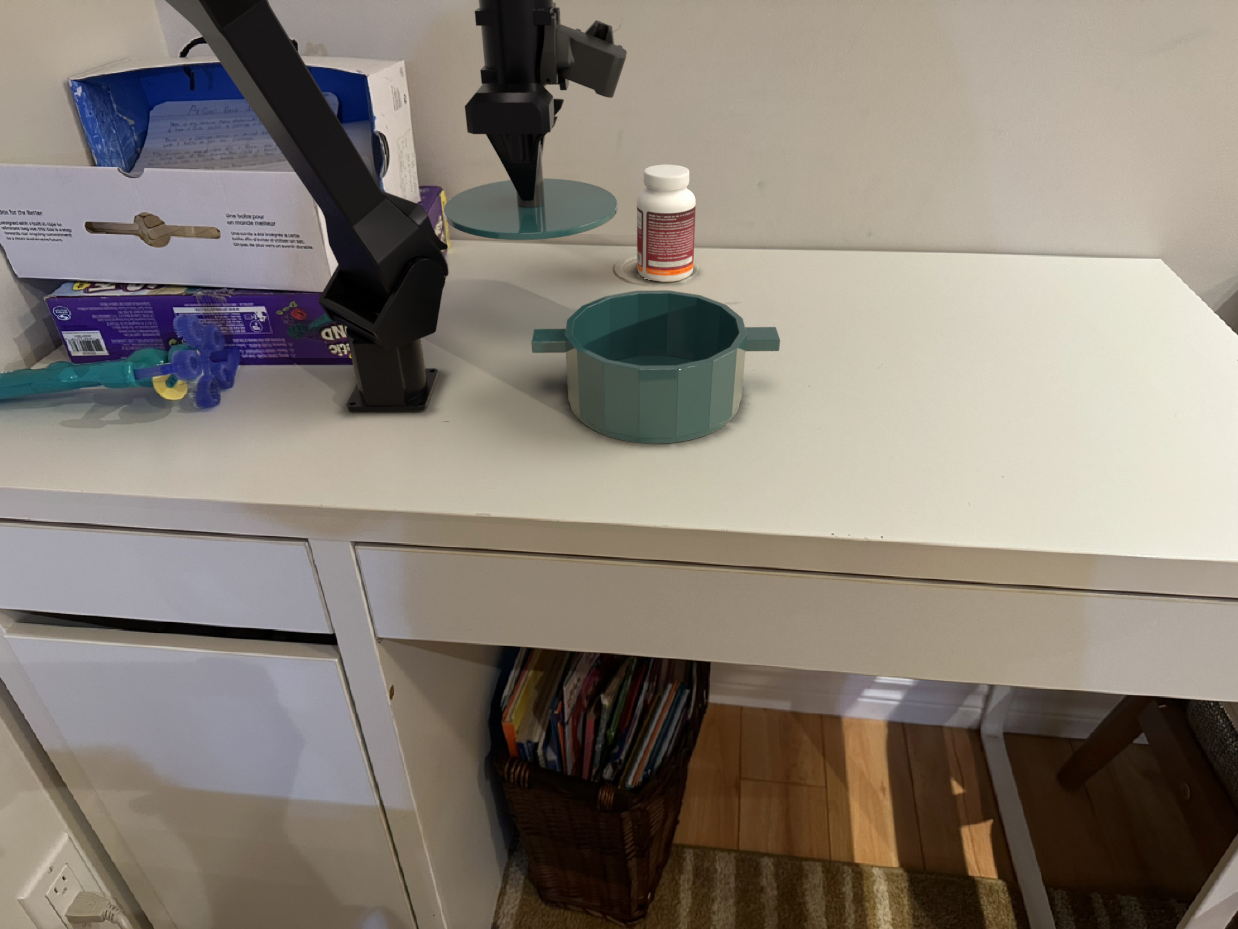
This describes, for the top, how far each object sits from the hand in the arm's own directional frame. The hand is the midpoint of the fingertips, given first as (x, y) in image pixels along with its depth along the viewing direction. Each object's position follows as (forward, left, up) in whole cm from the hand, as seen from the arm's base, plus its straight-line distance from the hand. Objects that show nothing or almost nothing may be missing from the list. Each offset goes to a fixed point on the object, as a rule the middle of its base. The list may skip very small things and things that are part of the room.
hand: (529, 195), depth 74 cm
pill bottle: (+14, -13, -13) cm, 23 cm away
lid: (0, 0, -1) cm, 1 cm away
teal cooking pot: (-13, -11, -13) cm, 21 cm away
